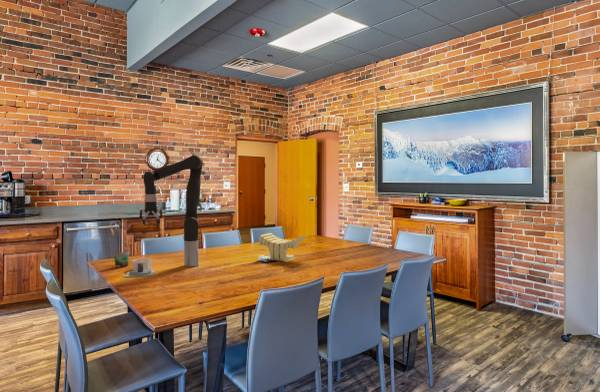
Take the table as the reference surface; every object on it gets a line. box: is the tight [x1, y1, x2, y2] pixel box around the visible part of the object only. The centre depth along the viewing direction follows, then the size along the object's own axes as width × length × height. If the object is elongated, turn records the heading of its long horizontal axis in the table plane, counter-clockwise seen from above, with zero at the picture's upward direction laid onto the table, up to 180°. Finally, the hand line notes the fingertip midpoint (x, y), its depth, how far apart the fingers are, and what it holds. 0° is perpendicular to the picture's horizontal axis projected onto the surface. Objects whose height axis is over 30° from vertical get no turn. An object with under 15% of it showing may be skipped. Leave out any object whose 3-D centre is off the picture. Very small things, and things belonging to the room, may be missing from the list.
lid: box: [129, 263, 152, 277], centre depth 228 cm, size 12×12×6 cm
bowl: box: [132, 257, 152, 271], centre depth 241 cm, size 11×11×6 cm
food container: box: [113, 249, 131, 269], centre depth 248 cm, size 12×6×10 cm, turn 168°
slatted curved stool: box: [258, 232, 306, 263], centre depth 269 cm, size 30×16×18 cm, turn 61°
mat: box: [124, 269, 156, 278], centre depth 228 cm, size 16×12×1 cm
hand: (151, 224), depth 249 cm, fingers open, 8 cm apart
